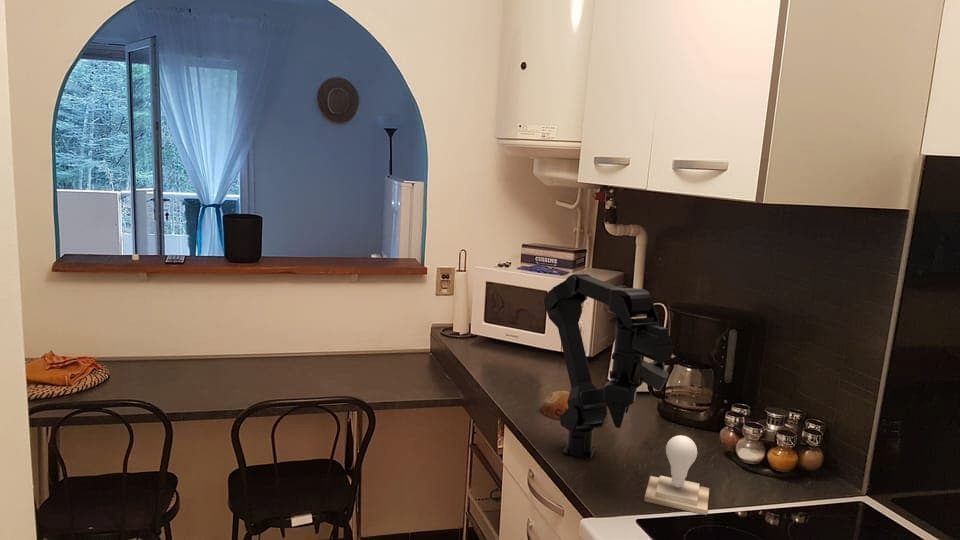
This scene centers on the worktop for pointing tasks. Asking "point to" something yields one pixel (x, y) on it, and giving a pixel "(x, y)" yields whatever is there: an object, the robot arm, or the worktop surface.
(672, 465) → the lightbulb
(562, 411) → the bread roll
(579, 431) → the robot arm
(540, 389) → the worktop surface
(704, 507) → the base
